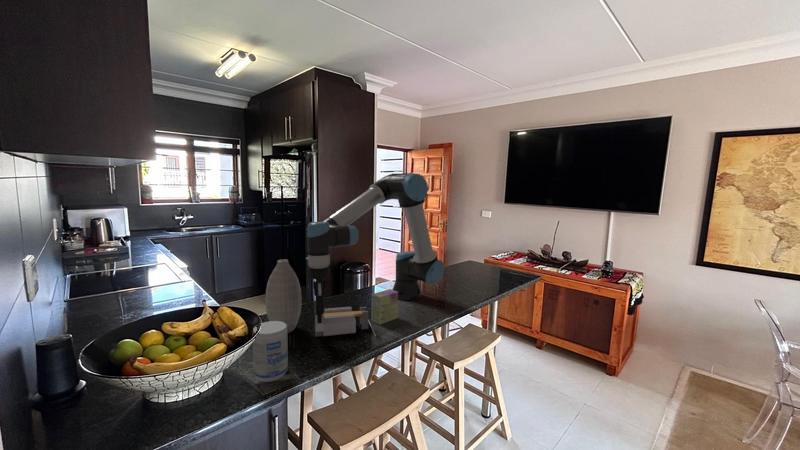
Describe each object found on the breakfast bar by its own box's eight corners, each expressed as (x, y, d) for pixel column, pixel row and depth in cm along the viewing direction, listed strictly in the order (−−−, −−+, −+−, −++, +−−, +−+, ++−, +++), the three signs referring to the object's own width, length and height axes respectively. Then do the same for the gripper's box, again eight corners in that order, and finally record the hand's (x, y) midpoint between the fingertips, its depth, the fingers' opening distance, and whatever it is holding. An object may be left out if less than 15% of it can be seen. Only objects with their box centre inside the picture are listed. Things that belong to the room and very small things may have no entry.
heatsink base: (367, 319, 138) (367, 301, 137) (376, 338, 121) (376, 317, 120) (308, 324, 132) (308, 305, 131) (309, 345, 115) (308, 324, 114)
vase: (291, 341, 117) (289, 265, 114) (259, 338, 119) (256, 263, 116) (307, 327, 130) (306, 257, 126) (278, 323, 132) (276, 255, 128)
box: (389, 314, 144) (389, 288, 143) (398, 318, 140) (398, 291, 139) (370, 320, 137) (371, 293, 135) (379, 325, 133) (380, 297, 131)
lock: (321, 329, 125) (321, 309, 124) (322, 336, 120) (322, 315, 119) (315, 329, 125) (314, 309, 124) (315, 336, 119) (315, 315, 118)
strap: (365, 313, 130) (365, 309, 130) (367, 316, 127) (367, 312, 126) (315, 316, 125) (315, 312, 125) (315, 321, 121) (315, 316, 121)
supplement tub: (271, 387, 91) (270, 337, 89) (246, 379, 95) (244, 330, 93) (294, 369, 100) (294, 323, 98) (270, 362, 103) (269, 318, 102)
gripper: (307, 262, 119) (308, 324, 122) (307, 271, 107) (308, 339, 110) (328, 261, 121) (329, 322, 124) (331, 269, 109) (331, 337, 112)
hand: (319, 330), depth 117 cm, fingers closed
